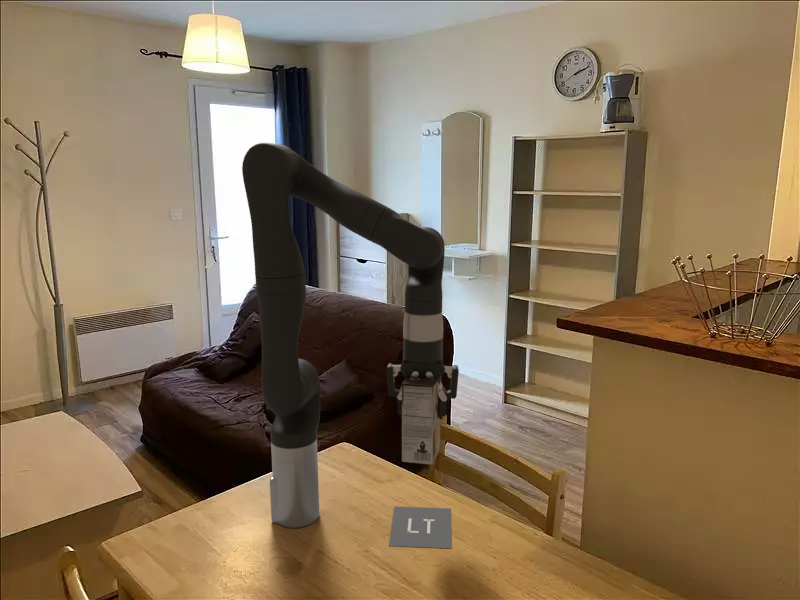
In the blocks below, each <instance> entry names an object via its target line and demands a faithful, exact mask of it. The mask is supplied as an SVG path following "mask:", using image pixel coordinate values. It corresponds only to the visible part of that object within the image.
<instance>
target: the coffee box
mask: <svg viewBox="0 0 800 600" xmlns="http://www.w3.org/2000/svg"><path fill="white" fill-rule="evenodd" d="M440 381H441V382H442V376H441V377H440V378H439V380H438V379H436V380H434V379H432V380H428V378H417V379H409V378H406V377H404V379H403V381H402V383H401V387H402V418H401V461H402V462H403V463H410V464H413V463H414V464H424V465H434V463H435V461H436V457H437V455H438V453H439V449H440V445H441V419H439V398H440V397H439V395H438V383H440Z"/></svg>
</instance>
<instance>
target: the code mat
mask: <svg viewBox="0 0 800 600" xmlns="http://www.w3.org/2000/svg"><path fill="white" fill-rule="evenodd" d="M452 545H453V544H452V510H451V508H449V507H446V508H443V507H441V508H440V507H419V506H417V507H416V506H413V507H412V506H398V505H397V506H394V507H393V515H392V523H391V530H390V536H389V542H388V547H396V548H397V547H401V548H419V549H420V548H423V549H424V548H425V549H446V550H447V549H448V550H451V549H452Z"/></svg>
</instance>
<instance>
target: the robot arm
mask: <svg viewBox="0 0 800 600" xmlns="http://www.w3.org/2000/svg"><path fill="white" fill-rule="evenodd" d="M241 170H242V171H241V172H242V173H241V174H242V180H243V184H244V191H245V195H246V199H247V205H248V210H249V216H250V222H251V232H252V236H251V237H252V247H253V248H252V249H253V259H254V261H253V262H254V273H255V275H254V277H255V287H256V288H255V289H256V297H257V303H258V315H259V316H258V317H259V318H258V319H259V327H260V328H259V329H260V338H261V375H260V376H261V378H260V380H261V381H260V383H261V386H260V387H261V394H262V398H263V401H264V403H265V405H266V406H267V407H268V409H269V410H270V411H271V412H273V413H274V414H275V415H276V416H275V419H274V421H273V423H272V425H271V427H270V449H271V451H270V452H271V469H272V470H271V471H272V473H271V474H272V475H271V477H270V478H269V492H270V498H269V499H270V516H271V517H270V518H271V520H270V521H271V523H274V524H277V525H280V526H282V527H285V528H301V527H306V526H308V525H311V524H313V523H314V522H315V521H317V519H318V518H319V516H320V494H319V493H320V491H319V466H318V465H319V464H318V461H319V460H318V459H319V457H318V428H319V424H320V421H321V419H320V418H321V383H320V382H321V381H320V377H319V373H318V371H317V369H316V368H315V367H314V366H313V364H312V363H311V362H309V361H307V360H306V359H302V358H299V351H298V350H299V347H298V346H299V335H300V332H301V326H302V323H303V316H304V314H305V308H306V300H307V288H306V287H307V286H306V275H305V274H306V273H305V265H304V260H303V256H302V253H301V250H300V247H299V245H298V241H297V239H296V237H295V234H294V232H293V231H294V230H293V227H292V222H291V217H290V216H291V215H290V201H289V200H290V197H293V198H296V199H298V200H301V201H304V202H306V203H308V204H311V205H312V206H314V207H316V208H317V209H319V210H320V211H322V212H324V213H325V214H326V215H328V216H329V217H330V218H331V219H333V220H334V221H335V222H337V224H340V225H341V226H343V227H344V228H346V229H347V230H349V232H350V231H351V232H353V233H354V234H356V235H357V236H359V237H362V238H364V239H365V240H367V241H369V242H371V243H373V244H375V245H376V246H377V245H378V246H380V247H381V248H383V249H384V250H385V251H387V253H390V254H391V255H392V256H394V257H395V258H397V259H398V260H400V261H401V262H402V263H405V264H407V269H408V270H407V274H408V275H407V281H406V284H405V290H404V314H403V315H404V316H403V325H402V326H403V328H402V335H403V336H402V337H403V338H402V339H403V340H402V362H401V364H394V363H392V362H390V363H388V364H387V367H386V383H387V384H386V385H387V395H388V396H389V397H394V398H395V399H396V400H397V404H396V405H397V407H396V408H397V409H396V410H397V412H396V413H397V414H398V415H399V416H400V418H401V419H402V386H401V387H400V389H399V388H396V380H395V378H396V377H397V376H398V374H399V372H401V373H402V375H403V376H404V378H409V379H417V378H428V380H432V379H434V380H436V379H438V380H439V378H440V377H441V378H442V376H443V375H444V373H446V374H447V377H448V378H449V379H450V387H449V389H448V390H446V389H445V387H444V386H443V383H442V380H441V381H440V383H438V395H439V397H440V398H439V419H440V420H443V419H444V418H443V417H446V415H447V410H448V409H447V407H448V406H447V405H448V404H447V403H448V400H454V399H456V398H457V396H458V394H457V393H458V384H459V382H458V381H459V374H460V370H459V369H460V368H459V366H458V365H457V364H454V365H452V366H450V365H449V366H448V365H445V364H444V362H443V357H444V356H443V355H444V352H443V351H444V349H443V348H444V319H443V283H442V281H443V273H444V264H445V251H446V249H445V247H446V246H445V241H444V238H443V236H442V234H441V233H440V232H439V230H436V229H435V228H432V227H427V226H426V227H425V226H423V227H421V226H417V225H416V224H414V223H412V222H410V221H408V220H406V219H404V218H402V217H401V215H400V214H399V213H398V212H396V211H395V210H394V209H392V208H390V207H388V206H386V205H384V204H383V203H382V202H381V203H380V202H378V201H376V200H375V199H374V198H371V197H369V196H367V195H365V194H363V193H361V192H359V191H357V190H355V189H353V188H350V187H349V186H347V185H345V184H343V183H341V182H339V181H338V180H335V179H333V178H332V177H331V176H328V175H327V174H325V173H324V172H323V171H321V170H320V169H318V168H317V167H315V166H314V165H312V164H311V163H309V162H308V161H307V160H306V159H304V158H303V157H301V156H300V155H299V154H298V153H297V152H295V151H294V150H292V148H290V147H289V146H287V145H284V144H280V143H273V142H259V143H257V144H254V145H252V146H251V147H249V149H248V150H247V151H246V153H245V155H244V157H243V160H242V167H241ZM289 196H290V197H289Z"/></svg>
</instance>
